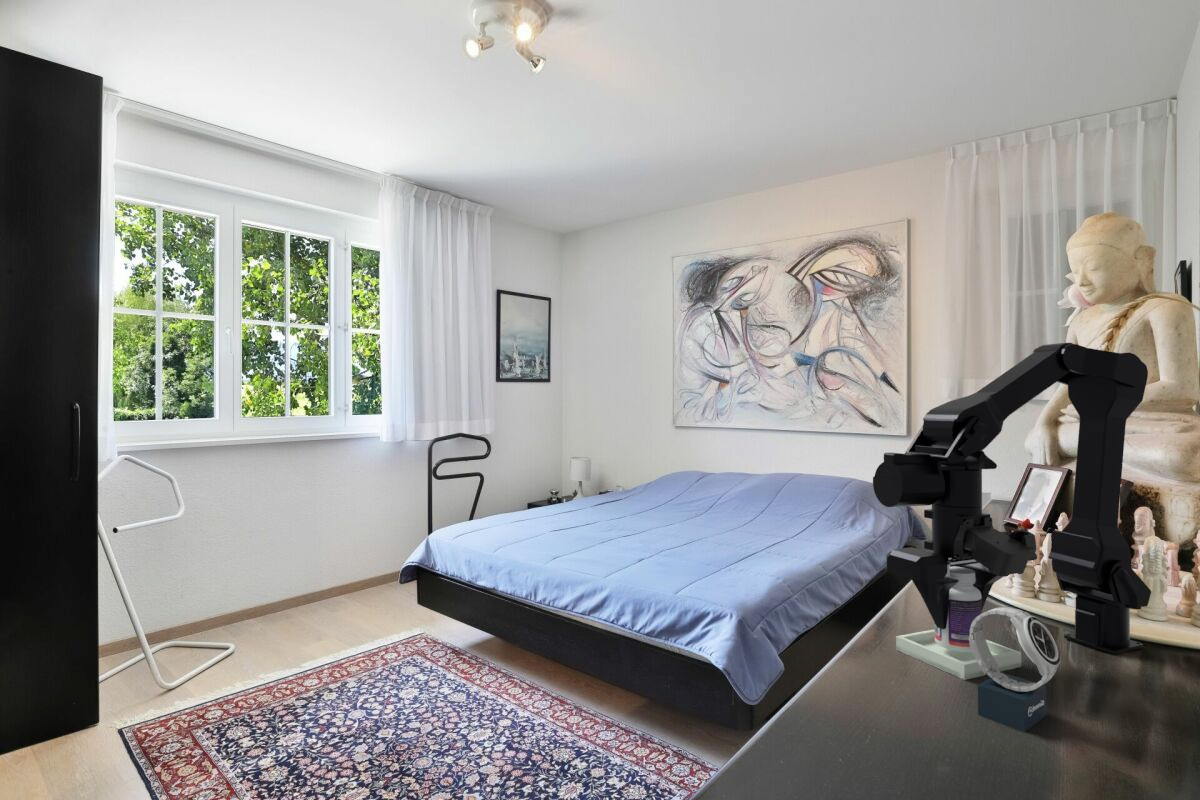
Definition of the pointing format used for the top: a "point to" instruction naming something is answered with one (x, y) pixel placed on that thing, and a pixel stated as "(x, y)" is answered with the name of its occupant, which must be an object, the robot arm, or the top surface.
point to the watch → (1007, 693)
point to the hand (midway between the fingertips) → (957, 625)
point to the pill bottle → (960, 611)
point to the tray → (954, 655)
